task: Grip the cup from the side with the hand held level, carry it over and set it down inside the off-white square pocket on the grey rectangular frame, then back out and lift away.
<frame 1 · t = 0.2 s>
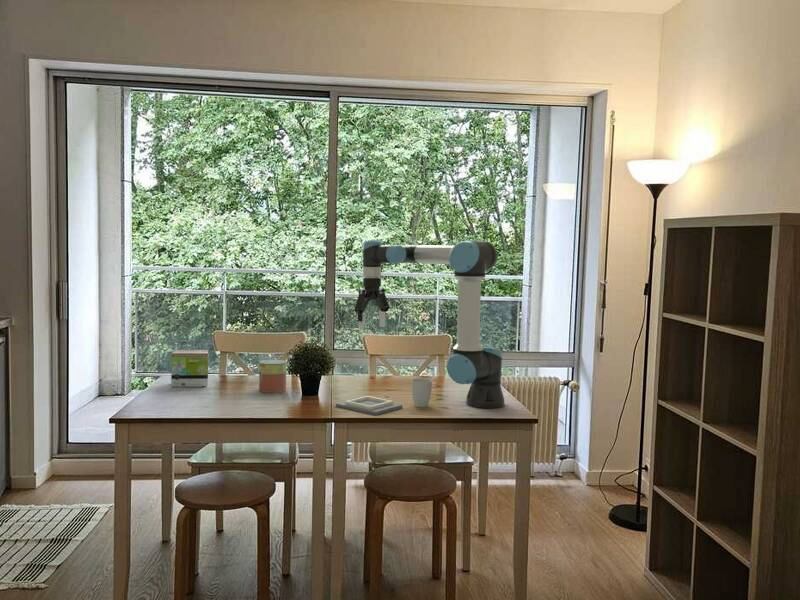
hand: (372, 328, 312), 27 cm above the table, tool pointing down, fingers open, 13 cm apart
tea box: (190, 385, 318), on the table
canned food: (272, 390, 313), on the table
cup: (420, 406, 290), on the table
grey rectangular frame: (369, 407, 286), on the table
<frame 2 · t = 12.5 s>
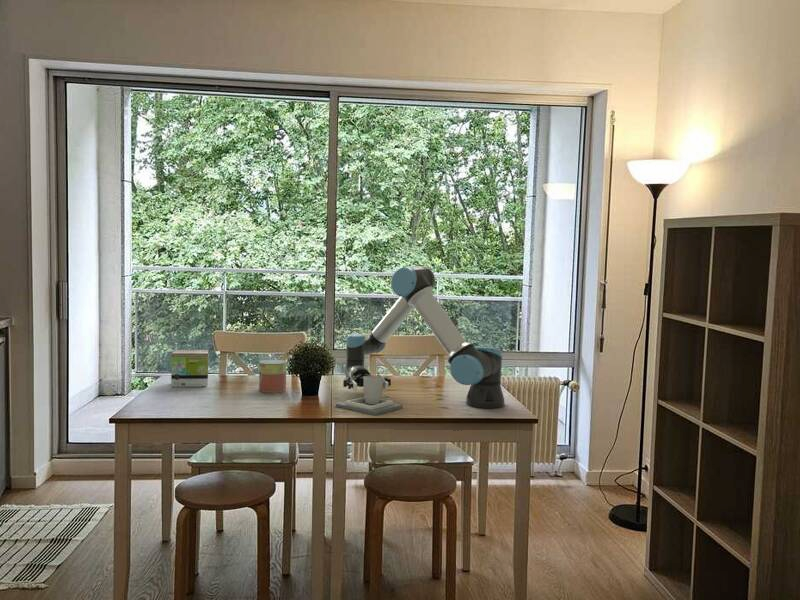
hand: (371, 387, 281), 9 cm above the table, tool horizontal, fingers open, 11 cm apart
cup: (372, 403, 286), point 1 cm above the table, touching gripper
everything else where it was.
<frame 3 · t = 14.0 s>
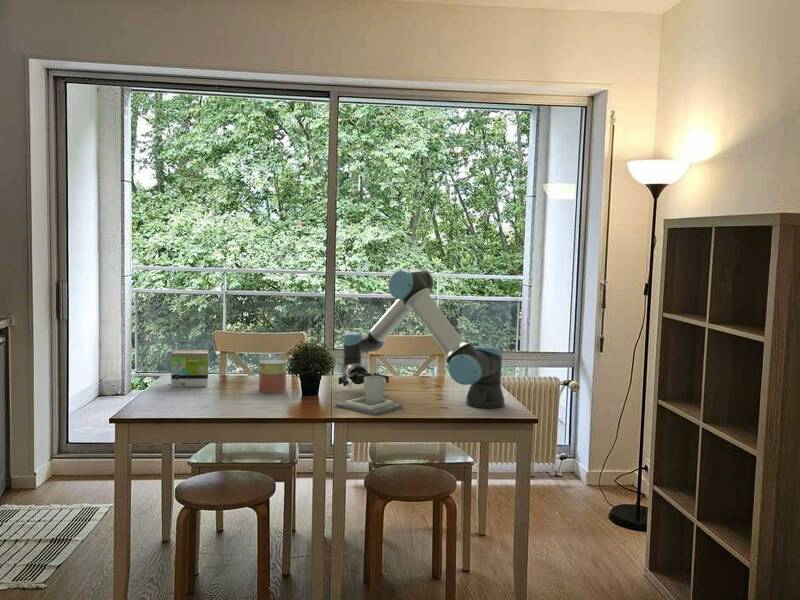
hand: (368, 384, 286), 9 cm above the table, tool horizontal, fingers open, 13 cm apart
cup: (373, 403, 287), point 1 cm above the table, touching grey rectangular frame
everything else where it was.
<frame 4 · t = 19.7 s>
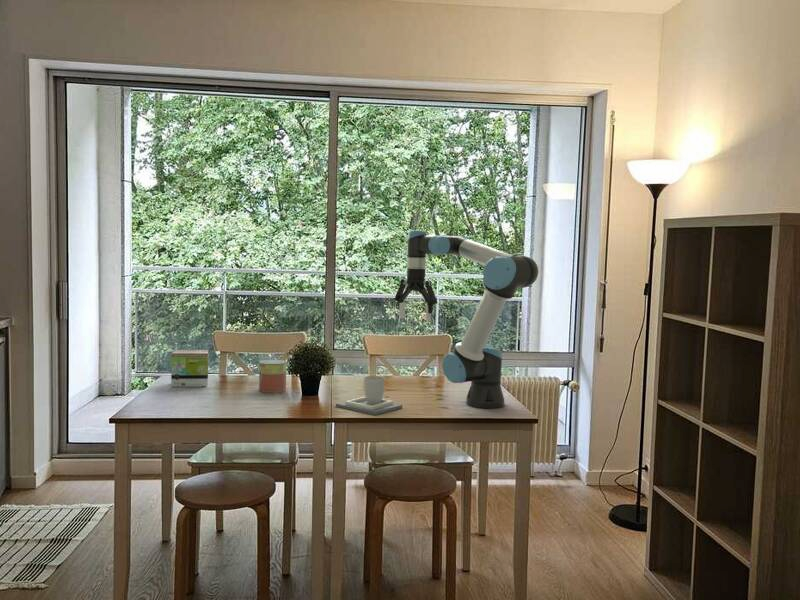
hand: (414, 319, 305), 32 cm above the table, tool pointing down, fingers open, 13 cm apart
nothing on the table moved.
at the end: cup 2.2 cm off-centre on the grey rectangular frame, point 1.0 cm above the grey rectangular frame's base; cup tilted 0°; the gripper is holding nothing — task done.
